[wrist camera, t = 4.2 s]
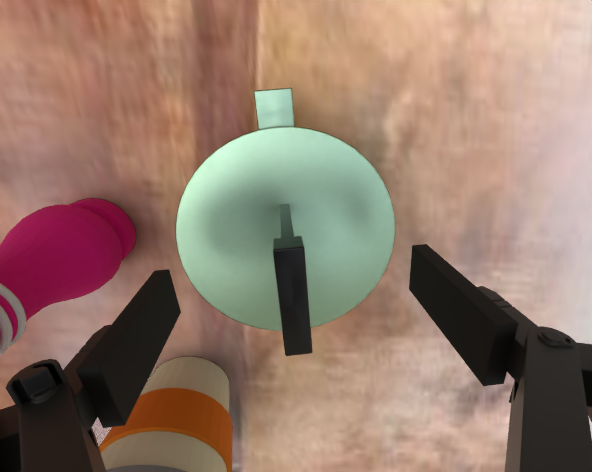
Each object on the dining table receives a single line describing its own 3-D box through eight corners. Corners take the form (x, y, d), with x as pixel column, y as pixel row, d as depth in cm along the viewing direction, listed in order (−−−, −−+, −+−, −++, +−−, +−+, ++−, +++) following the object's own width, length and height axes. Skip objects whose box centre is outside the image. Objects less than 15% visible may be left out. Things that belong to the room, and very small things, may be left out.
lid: (203, 331, 25) (168, 436, 17) (156, 136, 19) (64, 150, 11) (386, 311, 25) (439, 404, 17) (393, 115, 20) (480, 114, 11)
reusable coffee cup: (261, 363, 34) (251, 531, 20) (222, 433, 38) (192, 614, 24) (152, 329, 32) (55, 495, 18) (122, 407, 35) (23, 595, 21)
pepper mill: (112, 179, 26) (-322, 339, 7) (157, 249, 28) (-72, 500, 10) (40, 211, 26) (-534, 435, 8) (91, 276, 29) (-243, 561, 10)
